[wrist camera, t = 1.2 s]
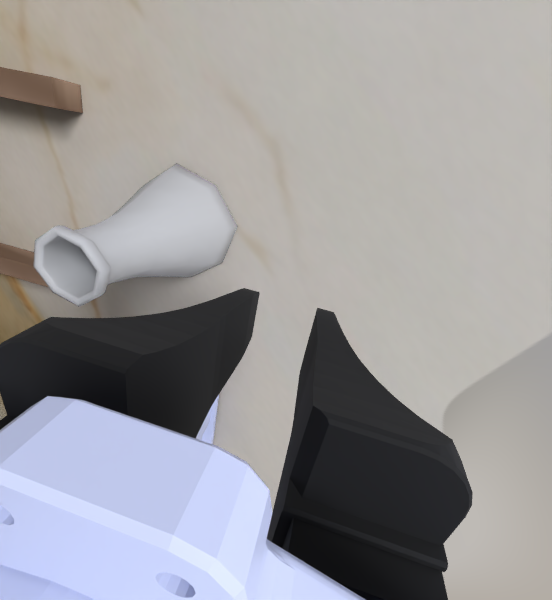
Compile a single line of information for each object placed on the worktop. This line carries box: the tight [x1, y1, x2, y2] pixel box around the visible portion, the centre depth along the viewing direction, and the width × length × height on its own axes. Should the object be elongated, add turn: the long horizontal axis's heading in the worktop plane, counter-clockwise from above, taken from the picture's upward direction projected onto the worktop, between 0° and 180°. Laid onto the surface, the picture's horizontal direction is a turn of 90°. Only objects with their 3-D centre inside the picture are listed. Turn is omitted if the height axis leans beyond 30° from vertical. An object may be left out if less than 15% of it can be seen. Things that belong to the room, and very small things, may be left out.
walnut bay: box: [0, 67, 83, 287], centre depth 22 cm, size 16×12×2 cm
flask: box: [33, 163, 238, 306], centre depth 17 cm, size 7×7×10 cm
